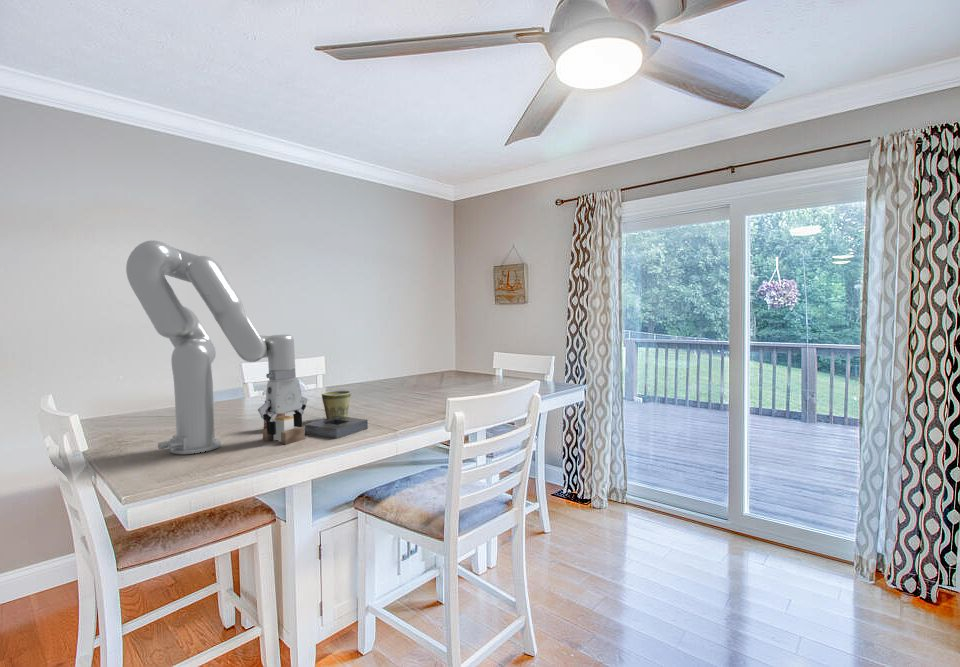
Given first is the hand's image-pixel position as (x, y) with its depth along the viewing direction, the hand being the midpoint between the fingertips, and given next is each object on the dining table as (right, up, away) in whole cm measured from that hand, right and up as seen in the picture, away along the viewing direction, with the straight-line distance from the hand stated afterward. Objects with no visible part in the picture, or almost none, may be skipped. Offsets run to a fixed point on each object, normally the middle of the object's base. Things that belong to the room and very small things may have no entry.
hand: (285, 430), depth 148 cm
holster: (0, -3, 0) cm, 3 cm away
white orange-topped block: (0, -3, 0) cm, 3 cm away
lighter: (-8, -3, +12) cm, 15 cm away
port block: (+13, -2, +10) cm, 16 cm away
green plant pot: (+9, -2, +27) cm, 28 cm away
